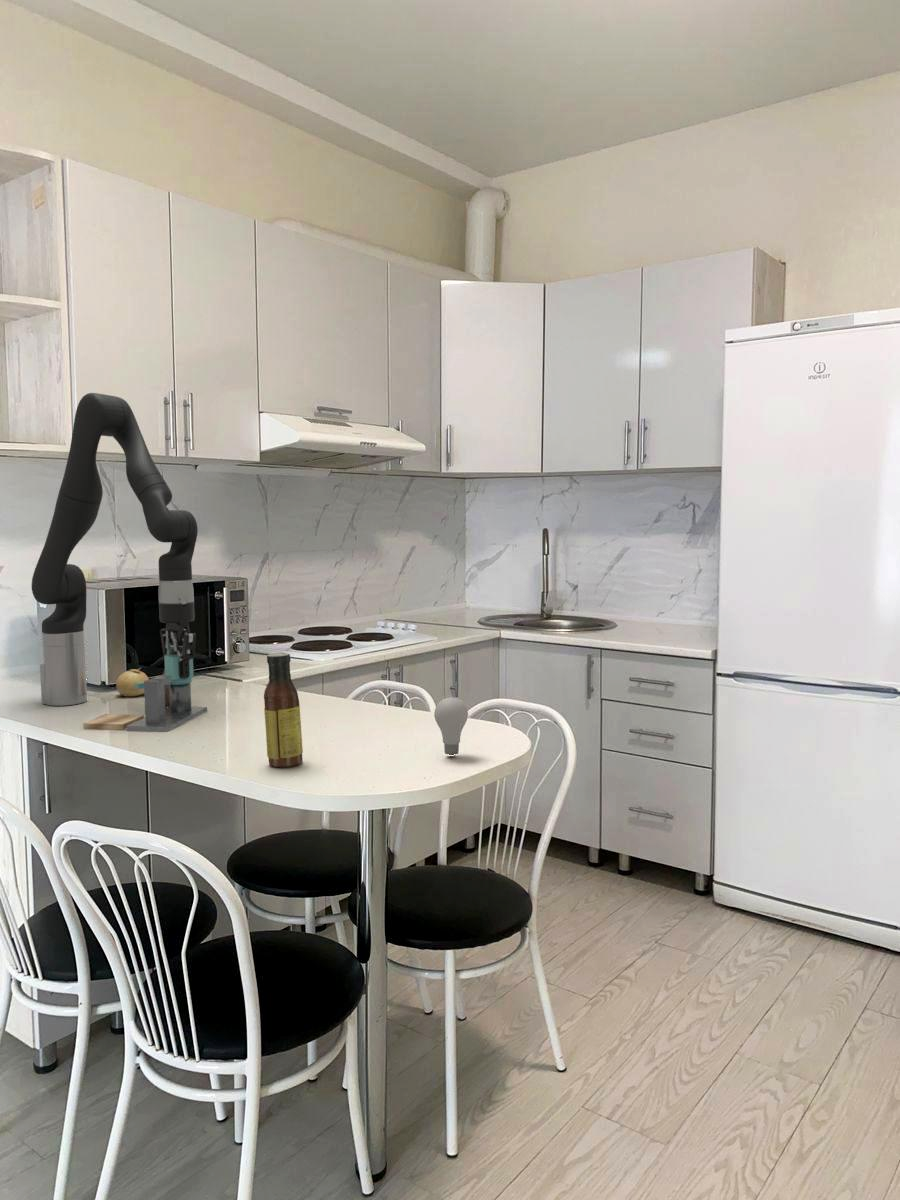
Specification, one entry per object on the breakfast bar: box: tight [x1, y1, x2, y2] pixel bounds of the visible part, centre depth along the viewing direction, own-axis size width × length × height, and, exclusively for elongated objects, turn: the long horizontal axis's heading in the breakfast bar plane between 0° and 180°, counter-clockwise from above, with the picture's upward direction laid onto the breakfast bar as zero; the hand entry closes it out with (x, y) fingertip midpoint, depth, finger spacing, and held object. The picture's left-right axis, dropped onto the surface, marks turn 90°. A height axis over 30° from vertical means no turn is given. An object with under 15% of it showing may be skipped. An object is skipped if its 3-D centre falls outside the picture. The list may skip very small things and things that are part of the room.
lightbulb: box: [433, 697, 469, 755], centre depth 166 cm, size 6×6×11 cm
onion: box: [115, 667, 150, 698], centre depth 228 cm, size 8×8×7 cm
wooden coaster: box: [82, 713, 145, 731], centre depth 196 cm, size 9×9×1 cm
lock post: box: [126, 675, 208, 733], centre depth 199 cm, size 9×20×10 cm, turn 171°
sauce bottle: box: [263, 652, 304, 768], centre depth 162 cm, size 6×6×20 cm
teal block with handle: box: [135, 654, 195, 689], centre depth 202 cm, size 5×12×6 cm, turn 131°
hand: (179, 675), depth 205 cm, fingers closed on teal block with handle, 4 cm apart
